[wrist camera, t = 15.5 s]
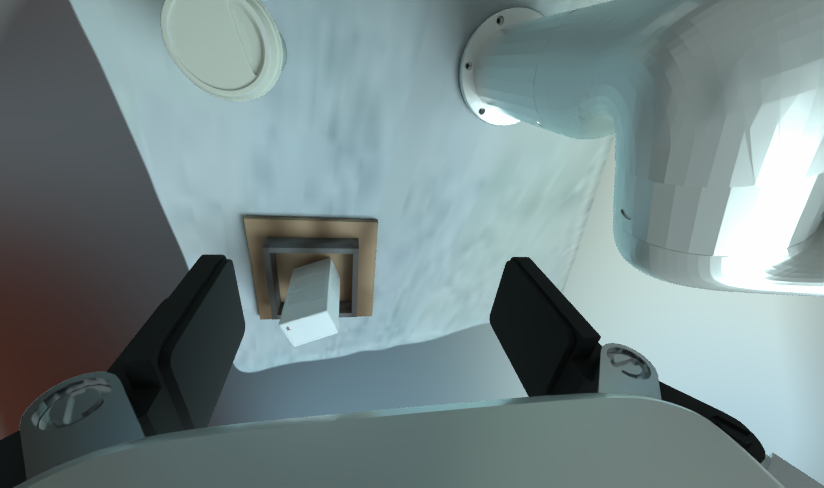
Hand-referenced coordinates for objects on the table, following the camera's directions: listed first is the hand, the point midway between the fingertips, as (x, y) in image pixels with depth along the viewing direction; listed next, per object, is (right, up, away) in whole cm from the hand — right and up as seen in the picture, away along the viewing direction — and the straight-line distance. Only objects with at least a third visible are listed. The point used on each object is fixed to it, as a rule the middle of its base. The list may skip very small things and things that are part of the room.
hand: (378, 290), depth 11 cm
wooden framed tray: (-14, -2, +38) cm, 40 cm away
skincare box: (-13, -3, +37) cm, 40 cm away
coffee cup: (-16, +23, +23) cm, 36 cm away
